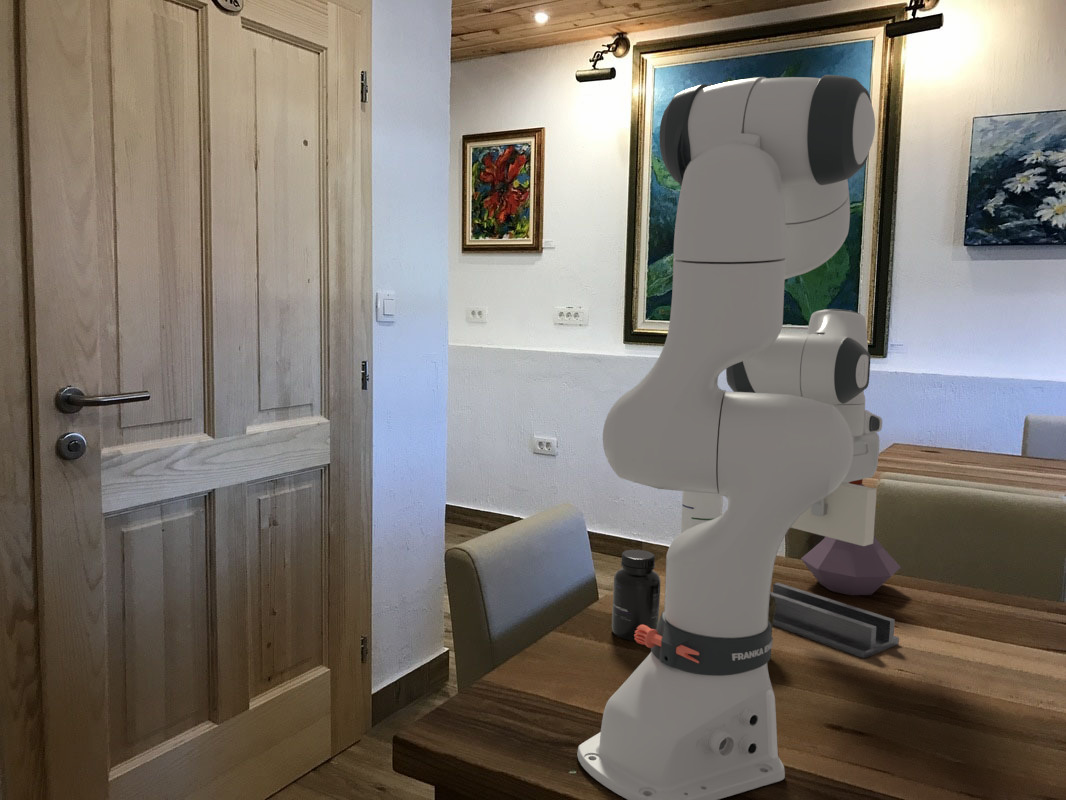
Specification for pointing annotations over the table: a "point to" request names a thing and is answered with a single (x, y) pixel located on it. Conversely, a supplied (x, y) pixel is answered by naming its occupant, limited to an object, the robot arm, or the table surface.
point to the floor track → (832, 622)
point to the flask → (850, 565)
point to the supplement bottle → (635, 594)
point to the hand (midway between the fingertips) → (826, 513)
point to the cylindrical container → (699, 508)
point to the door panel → (844, 515)
